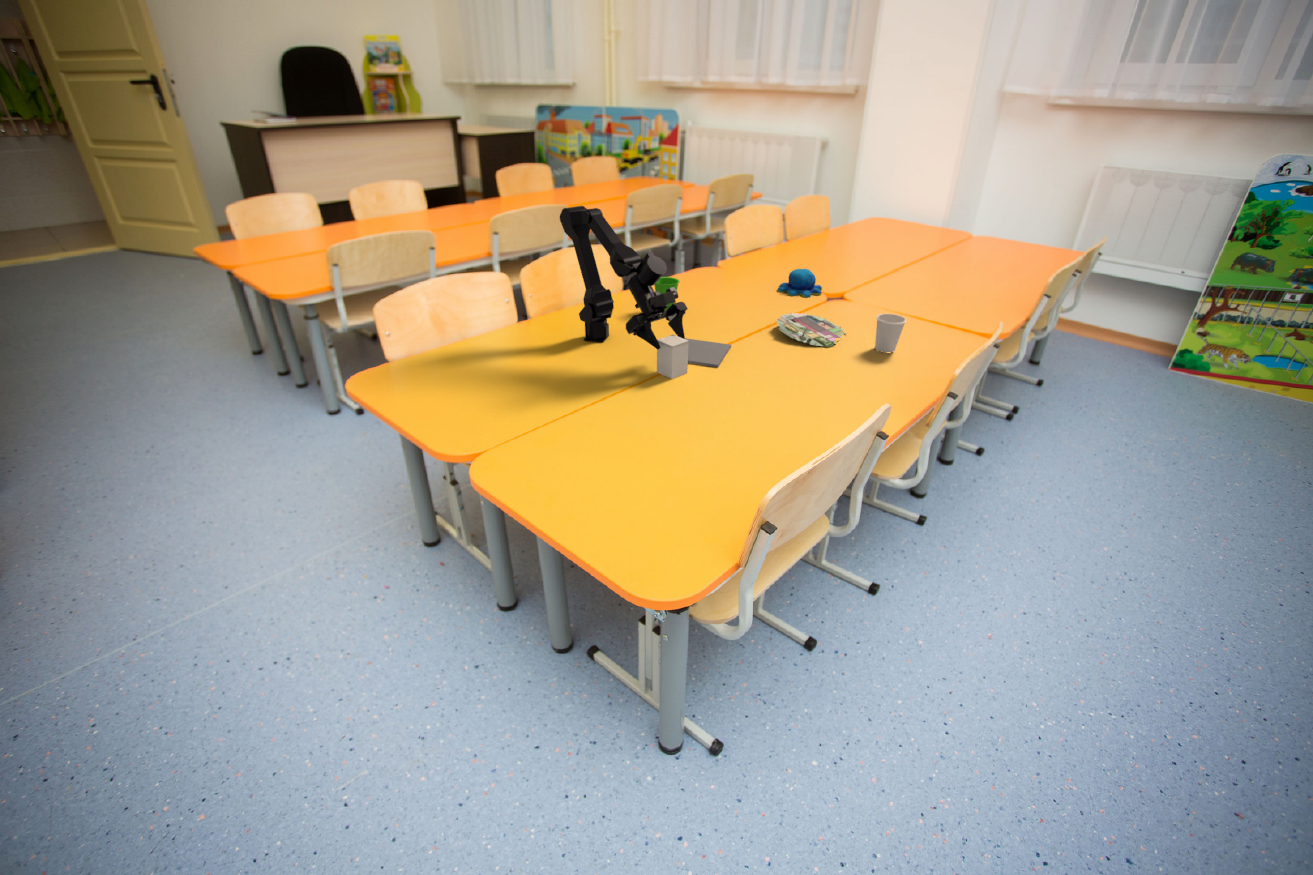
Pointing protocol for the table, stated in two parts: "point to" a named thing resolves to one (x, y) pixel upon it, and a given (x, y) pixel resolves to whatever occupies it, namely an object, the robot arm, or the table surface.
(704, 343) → the mat
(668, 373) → the white tall block
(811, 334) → the city model
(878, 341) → the dixie cup
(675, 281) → the cup
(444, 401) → the table surface
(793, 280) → the plush toy
